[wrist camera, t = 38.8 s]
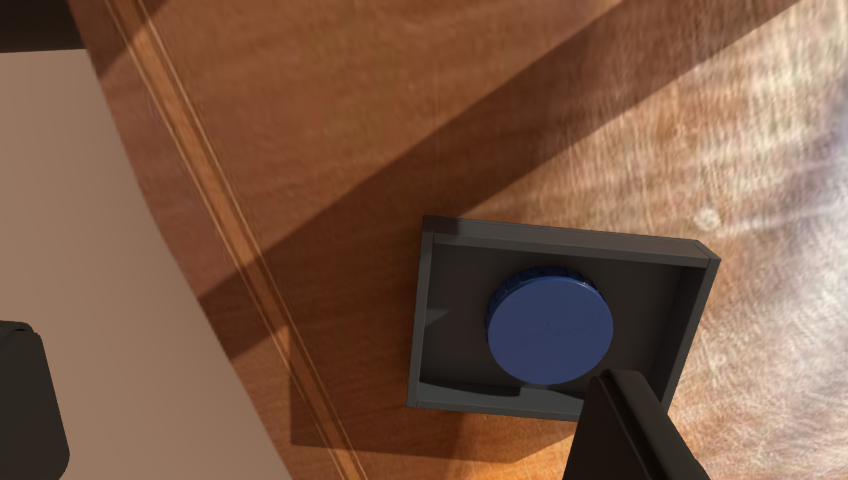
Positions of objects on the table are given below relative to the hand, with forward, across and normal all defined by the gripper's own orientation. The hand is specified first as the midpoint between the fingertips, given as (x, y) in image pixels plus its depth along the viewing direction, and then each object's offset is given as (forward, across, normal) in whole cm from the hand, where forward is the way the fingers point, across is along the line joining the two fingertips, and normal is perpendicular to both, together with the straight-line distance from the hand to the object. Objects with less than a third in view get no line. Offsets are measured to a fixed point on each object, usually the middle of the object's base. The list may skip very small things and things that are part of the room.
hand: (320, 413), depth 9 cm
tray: (+19, -10, +9) cm, 23 cm away
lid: (+17, -10, +9) cm, 21 cm away
